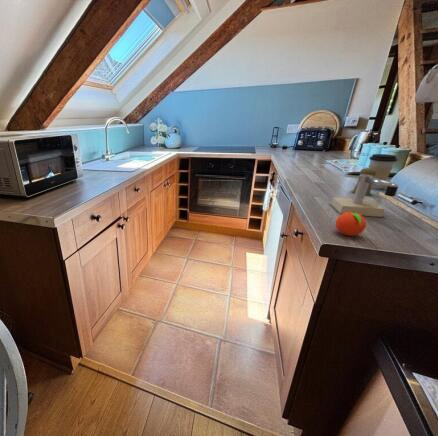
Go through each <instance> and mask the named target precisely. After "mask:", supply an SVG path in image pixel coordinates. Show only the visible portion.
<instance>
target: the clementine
mask: <svg viewBox="0 0 438 436" xmlns="http://www.w3.org/2000/svg"><path fill="white" fill-rule="evenodd" d="M335 228H336V230H337V231H338V232H339V233H341V234H342V235H344V236H350V237H354V236H357V235H360V234H361V233H363V232H364V230H365V229H366V228H367V221H366V219H365V217H364V216H363V215H360V214H358V213H355V212H347V213H343V214H340V215H339V216H337V218H336V219H335Z"/></svg>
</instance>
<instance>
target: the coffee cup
mask: <svg viewBox="0 0 438 436" xmlns="http://www.w3.org/2000/svg"><path fill="white" fill-rule="evenodd" d="M369 160H370V161H369V164H368V168H371V169H375V170H376V175H375V176H374V178H377V179H381V180H384V181H387V179H388V178H389V176H390V174H391V172H392V170H393V168H394V165H395V163H396V162H398V159H397V155H393V154H385V153H374V154H372V155H371V156H370V157H369ZM381 189H383V187H381V186H378V185H375V184H372V185H371V190H381Z"/></svg>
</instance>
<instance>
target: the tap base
mask: <svg viewBox="0 0 438 436" xmlns="http://www.w3.org/2000/svg"><path fill="white" fill-rule="evenodd" d="M368 185H369V182H361V181H359V183H358V186H357V189H356V192H355V194H354V195H353V198H348V197H332V200H331V203H330V205H331V207H333V208H334V209H335V210H336V211H337V212H338V213H339V214H340V215H341V214H343V213H347V212H355V213H358V214H360V215H361V216H363V217H364V216H366V217H376V218H382V217H383V214H384V212H385V210H386V209H385V208H384V207H382V206H381V205H379V204H378V203H377V202H375V201H374V200H372V199H366V195H365V194H366V191H367V188H368Z"/></svg>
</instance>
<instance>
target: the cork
mask: <svg viewBox="0 0 438 436" xmlns="http://www.w3.org/2000/svg"><path fill="white" fill-rule="evenodd" d="M360 174H367V175H372V176H373V177H374V176H375V175H376V170H375V169H371V168H369V167H366V168H362V169H361V170H360V171H359V175H360ZM358 183H359V181H358V180H357V182H356V184H355V186H354V188H353V190H352V193H353V194H354V195H355V192H356V189H357V186H358ZM371 185H372V183H369V185H368V188H367V191H366V194H365V196H370V195H371V191H372V189H371Z"/></svg>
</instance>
